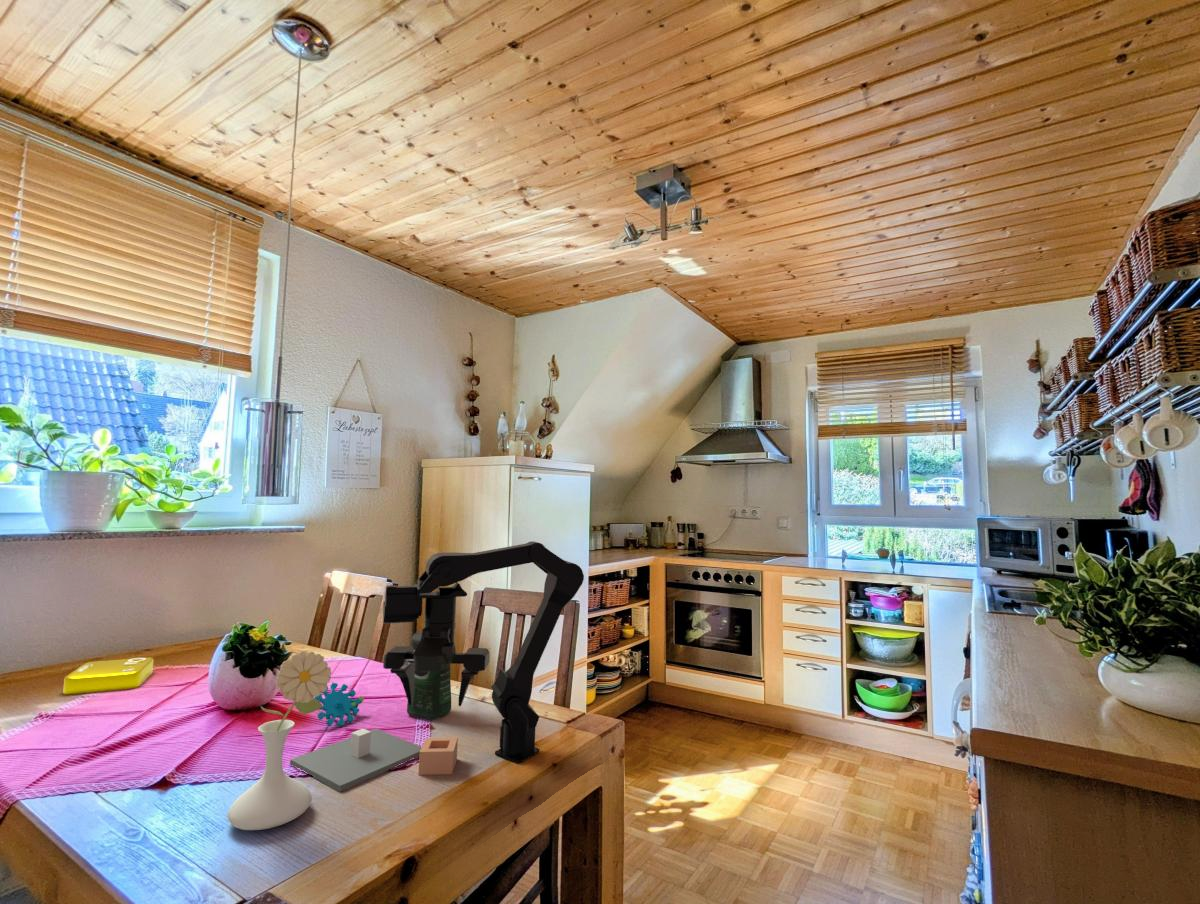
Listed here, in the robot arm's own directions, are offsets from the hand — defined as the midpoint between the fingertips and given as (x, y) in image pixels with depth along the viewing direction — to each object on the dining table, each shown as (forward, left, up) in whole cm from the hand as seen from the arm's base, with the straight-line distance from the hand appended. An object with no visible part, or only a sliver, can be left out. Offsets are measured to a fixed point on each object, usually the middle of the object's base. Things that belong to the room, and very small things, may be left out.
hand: (435, 705), depth 107 cm
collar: (-1, -1, -11) cm, 11 cm away
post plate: (+13, +6, -11) cm, 18 cm away
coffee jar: (+21, -17, -11) cm, 29 cm away
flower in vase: (+6, +25, -11) cm, 29 cm away
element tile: (+101, +19, -12) cm, 104 cm away
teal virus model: (+33, -2, -12) cm, 35 cm away
